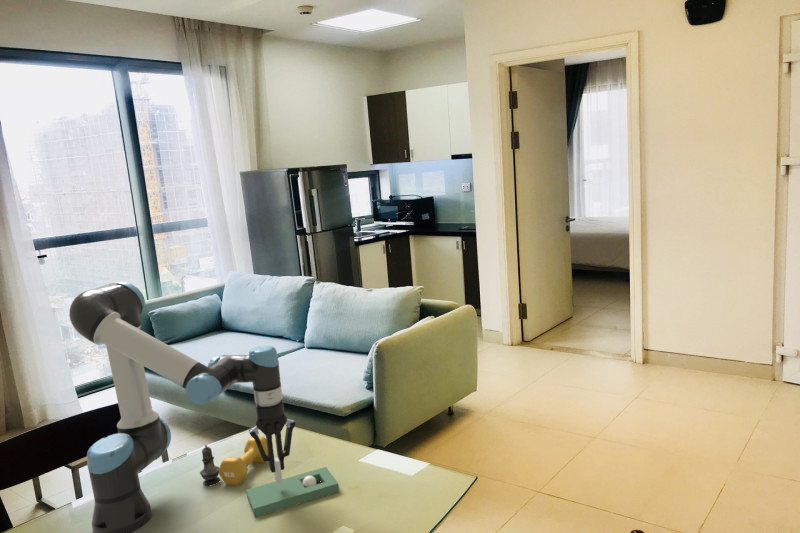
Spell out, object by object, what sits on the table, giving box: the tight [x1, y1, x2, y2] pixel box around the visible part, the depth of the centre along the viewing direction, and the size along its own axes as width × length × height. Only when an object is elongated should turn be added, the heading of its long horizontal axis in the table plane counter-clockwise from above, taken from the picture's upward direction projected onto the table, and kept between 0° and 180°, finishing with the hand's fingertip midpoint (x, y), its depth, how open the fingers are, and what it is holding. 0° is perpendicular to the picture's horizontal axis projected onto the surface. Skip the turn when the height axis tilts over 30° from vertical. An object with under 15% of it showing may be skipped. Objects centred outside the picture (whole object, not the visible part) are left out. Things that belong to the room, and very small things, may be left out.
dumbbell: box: [218, 435, 268, 486], centre depth 193 cm, size 19×9×8 cm, turn 162°
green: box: [245, 466, 340, 518], centre depth 176 cm, size 24×12×2 cm, turn 114°
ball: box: [303, 476, 317, 488], centre depth 178 cm, size 4×4×4 cm
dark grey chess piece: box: [199, 444, 221, 487], centre depth 189 cm, size 6×6×12 cm
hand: (278, 481), depth 175 cm, fingers closed
